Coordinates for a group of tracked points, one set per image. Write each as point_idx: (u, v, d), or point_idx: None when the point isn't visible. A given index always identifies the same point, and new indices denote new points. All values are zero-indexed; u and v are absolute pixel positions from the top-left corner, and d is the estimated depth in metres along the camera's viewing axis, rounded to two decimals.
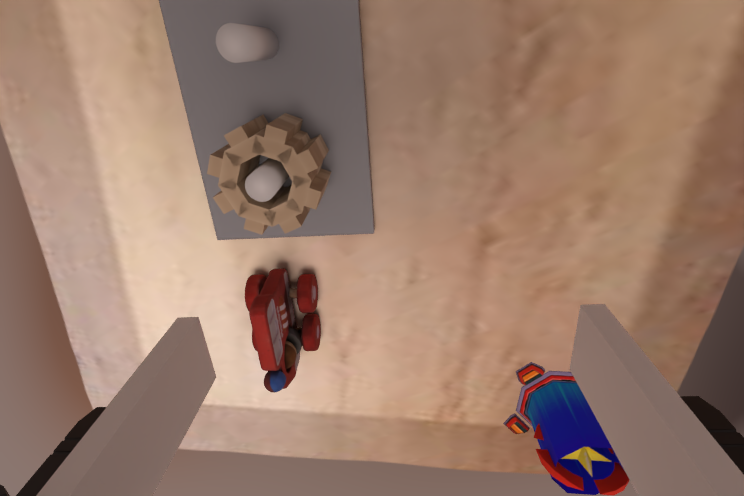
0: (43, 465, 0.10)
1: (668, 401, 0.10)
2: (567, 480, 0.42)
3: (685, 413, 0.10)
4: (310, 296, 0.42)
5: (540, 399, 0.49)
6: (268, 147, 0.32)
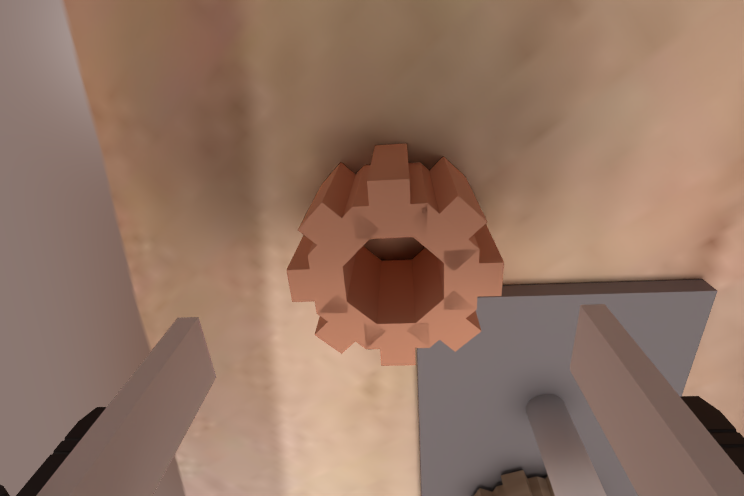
0: (43, 465, 0.10)
1: (668, 401, 0.10)
2: None
3: (685, 413, 0.10)
4: None
5: None
6: None
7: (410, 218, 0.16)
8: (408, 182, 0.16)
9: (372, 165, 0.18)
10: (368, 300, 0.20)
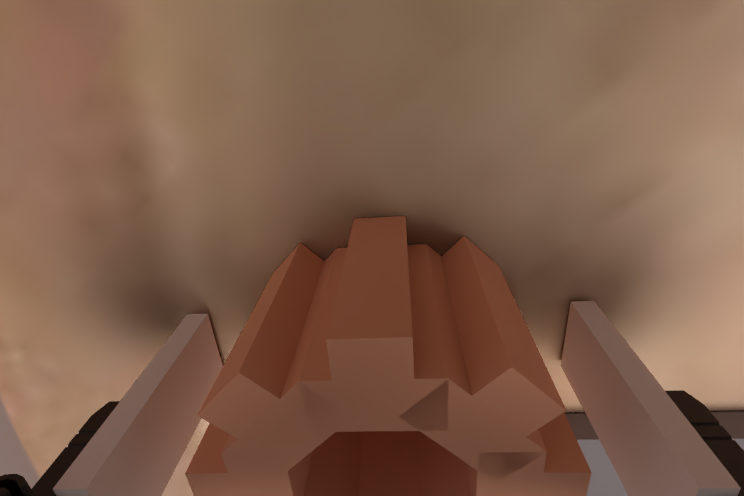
0: (59, 458, 0.11)
1: (652, 395, 0.10)
2: None
3: (669, 406, 0.10)
4: None
5: None
6: None
7: (414, 402, 0.08)
8: (410, 342, 0.08)
9: (343, 279, 0.10)
10: (341, 490, 0.12)
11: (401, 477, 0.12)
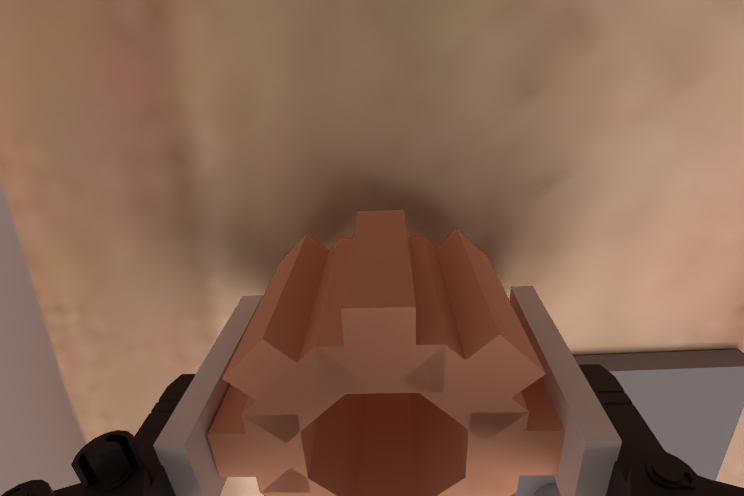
0: (145, 423, 0.11)
1: (564, 366, 0.11)
2: None
3: (576, 375, 0.11)
4: None
5: None
6: None
7: (415, 365, 0.10)
8: (413, 312, 0.09)
9: (352, 261, 0.11)
10: (344, 457, 0.13)
11: (398, 447, 0.14)
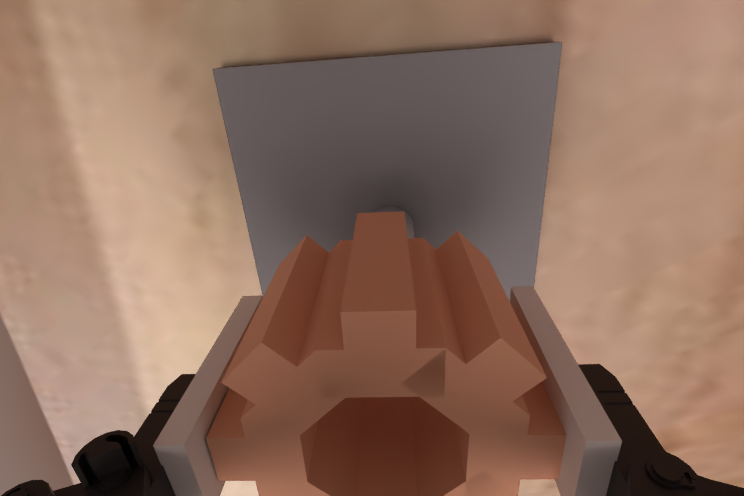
0: (145, 423, 0.11)
1: (565, 366, 0.11)
2: None
3: (577, 375, 0.11)
4: None
5: None
6: None
7: (415, 369, 0.10)
8: (414, 315, 0.09)
9: (351, 264, 0.11)
10: (344, 460, 0.13)
11: (398, 450, 0.13)
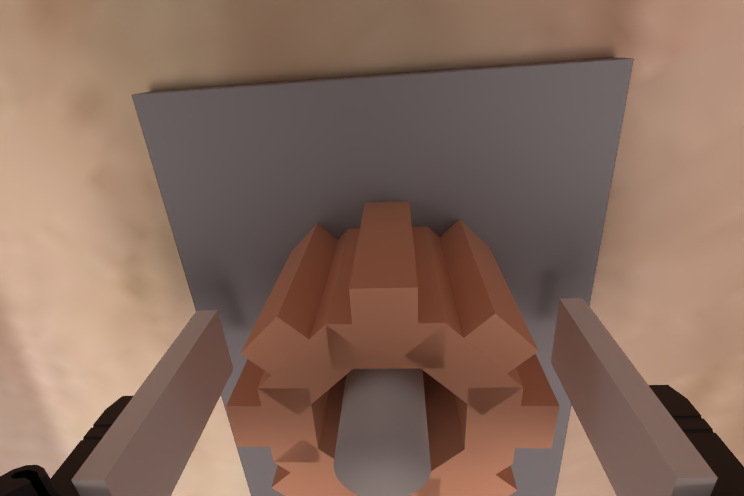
0: (75, 451, 0.11)
1: (636, 388, 0.10)
2: None
3: (651, 400, 0.10)
4: None
5: None
6: None
7: (417, 343, 0.10)
8: (415, 292, 0.10)
9: (359, 248, 0.12)
10: None
11: None
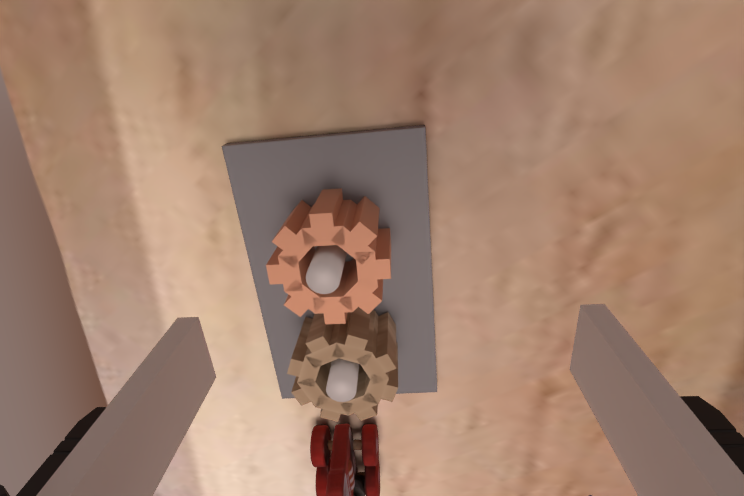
0: (43, 465, 0.10)
1: (668, 401, 0.10)
2: None
3: (685, 413, 0.10)
4: (375, 454, 0.43)
5: None
6: (348, 352, 0.33)
7: (334, 234, 0.29)
8: (331, 214, 0.29)
9: (315, 204, 0.31)
10: None
11: None
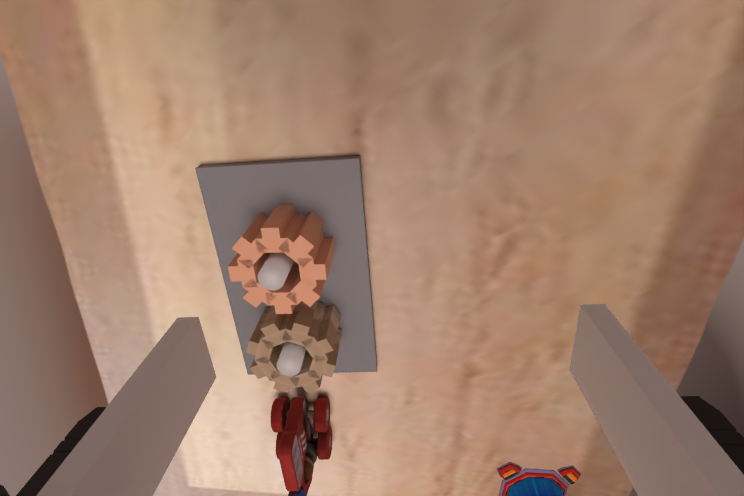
0: (44, 465, 0.10)
1: (668, 401, 0.10)
2: None
3: (685, 413, 0.10)
4: (324, 421, 0.52)
5: (517, 493, 0.58)
6: (294, 337, 0.41)
7: (281, 244, 0.37)
8: (278, 229, 0.37)
9: (268, 218, 0.39)
10: None
11: (288, 281, 0.41)
